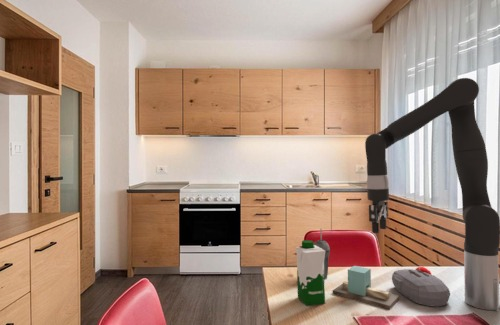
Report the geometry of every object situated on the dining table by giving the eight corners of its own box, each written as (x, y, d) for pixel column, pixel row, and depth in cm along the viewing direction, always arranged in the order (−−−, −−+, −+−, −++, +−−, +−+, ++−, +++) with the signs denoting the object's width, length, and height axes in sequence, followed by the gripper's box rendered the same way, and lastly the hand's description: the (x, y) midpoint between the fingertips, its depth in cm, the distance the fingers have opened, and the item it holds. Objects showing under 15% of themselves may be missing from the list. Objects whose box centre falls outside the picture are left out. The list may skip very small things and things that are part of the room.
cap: (431, 278, 122) (435, 267, 126) (415, 271, 125) (419, 260, 129) (426, 290, 127) (429, 278, 130) (410, 282, 130) (414, 271, 133)
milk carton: (316, 293, 117) (315, 238, 117) (329, 304, 108) (328, 244, 108) (294, 296, 115) (293, 240, 115) (305, 307, 106) (304, 247, 106)
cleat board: (399, 299, 112) (399, 290, 112) (389, 309, 104) (389, 299, 104) (344, 285, 125) (344, 277, 125) (332, 293, 117) (332, 284, 117)
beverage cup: (311, 279, 131) (310, 230, 131) (313, 273, 138) (312, 227, 138) (330, 281, 129) (329, 231, 129) (331, 275, 136) (330, 227, 136)
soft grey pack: (386, 286, 123) (418, 310, 103) (385, 265, 123) (418, 284, 103) (423, 284, 125) (462, 307, 105) (422, 263, 125) (461, 282, 105)
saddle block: (370, 291, 116) (370, 268, 116) (364, 296, 112) (364, 273, 112) (354, 287, 120) (354, 265, 120) (348, 292, 115) (347, 269, 115)
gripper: (382, 189, 113) (384, 235, 112) (393, 186, 124) (395, 228, 123) (360, 188, 117) (362, 233, 117) (374, 186, 128) (375, 226, 128)
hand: (379, 230), depth 120 cm, fingers open, 8 cm apart
